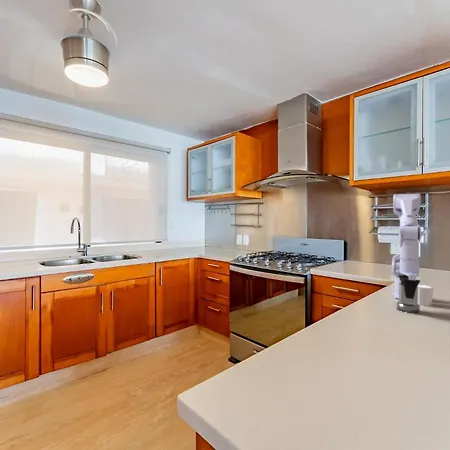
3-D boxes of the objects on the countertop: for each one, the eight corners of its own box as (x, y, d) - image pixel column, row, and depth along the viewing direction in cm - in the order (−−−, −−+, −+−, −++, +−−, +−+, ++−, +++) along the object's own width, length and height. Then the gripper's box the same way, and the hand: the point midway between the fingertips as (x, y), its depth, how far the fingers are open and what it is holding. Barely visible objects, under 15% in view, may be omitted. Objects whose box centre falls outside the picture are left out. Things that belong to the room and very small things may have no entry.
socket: (398, 298, 110) (399, 282, 110) (414, 300, 108) (414, 283, 108) (401, 302, 105) (401, 285, 105) (417, 303, 103) (417, 286, 103)
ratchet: (393, 302, 117) (393, 290, 117) (413, 304, 115) (413, 291, 115) (398, 312, 105) (398, 298, 105) (421, 314, 102) (421, 300, 102)
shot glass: (423, 307, 112) (424, 288, 112) (408, 302, 118) (408, 284, 118) (437, 305, 113) (438, 287, 113) (421, 301, 120) (421, 283, 120)
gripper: (393, 256, 115) (392, 291, 115) (399, 260, 101) (398, 300, 101) (414, 257, 112) (414, 293, 112) (423, 262, 98) (422, 302, 99)
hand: (408, 296), depth 107 cm, fingers closed on socket, 5 cm apart
